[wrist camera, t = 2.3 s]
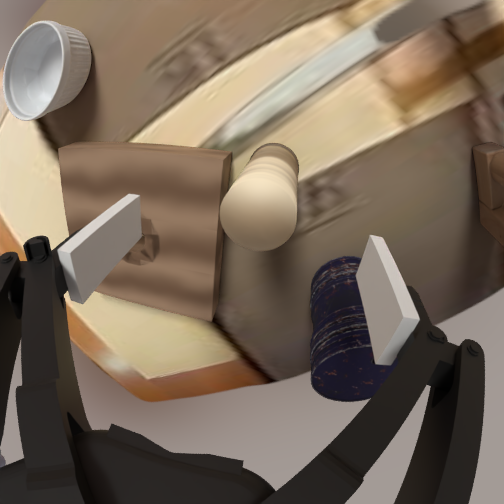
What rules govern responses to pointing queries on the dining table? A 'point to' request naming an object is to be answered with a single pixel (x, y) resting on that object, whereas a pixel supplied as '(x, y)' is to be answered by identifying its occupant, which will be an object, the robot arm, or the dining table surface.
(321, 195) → the dining table surface
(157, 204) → the walnut board
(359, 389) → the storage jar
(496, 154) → the wooden peg block
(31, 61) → the ramekin
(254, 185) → the beech leg
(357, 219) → the dining table surface
